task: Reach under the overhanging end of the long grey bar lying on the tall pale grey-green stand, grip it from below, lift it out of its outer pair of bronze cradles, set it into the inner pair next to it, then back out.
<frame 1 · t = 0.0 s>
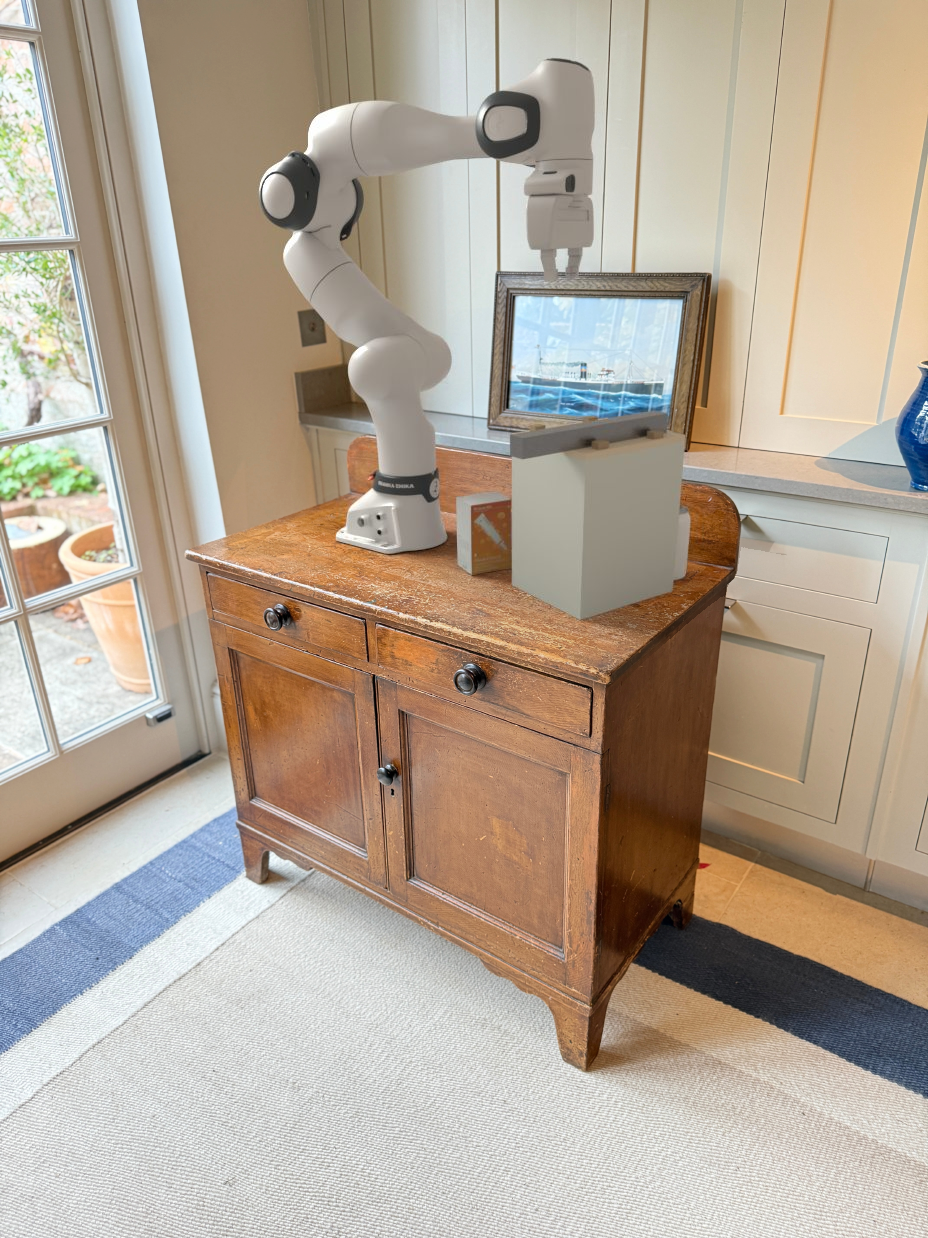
hand: (561, 279, 136), 48 cm above the table, tool pointing down, fingers open, 8 cm apart
small box: (484, 568, 153), on the table
stand: (591, 588, 143), on the table
can: (666, 576, 147), on the table
long grey bar: (591, 443, 126), point 26 cm above the table, touching stand
toy chair: (535, 551, 161), on the table
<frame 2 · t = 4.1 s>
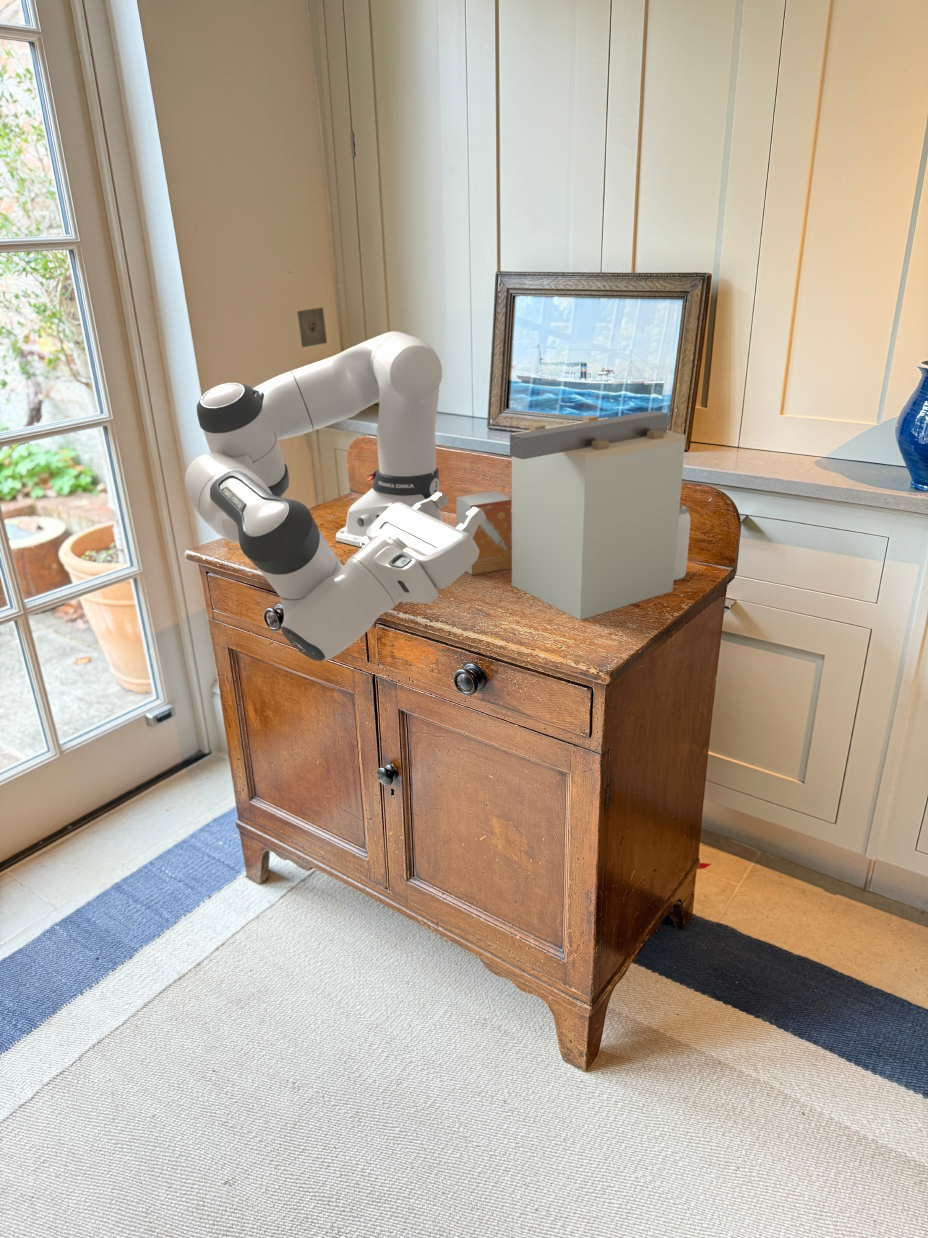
hand: (462, 503, 117), 21 cm above the table, tool pointing upward, fingers open, 8 cm apart
nothing on the table moved.
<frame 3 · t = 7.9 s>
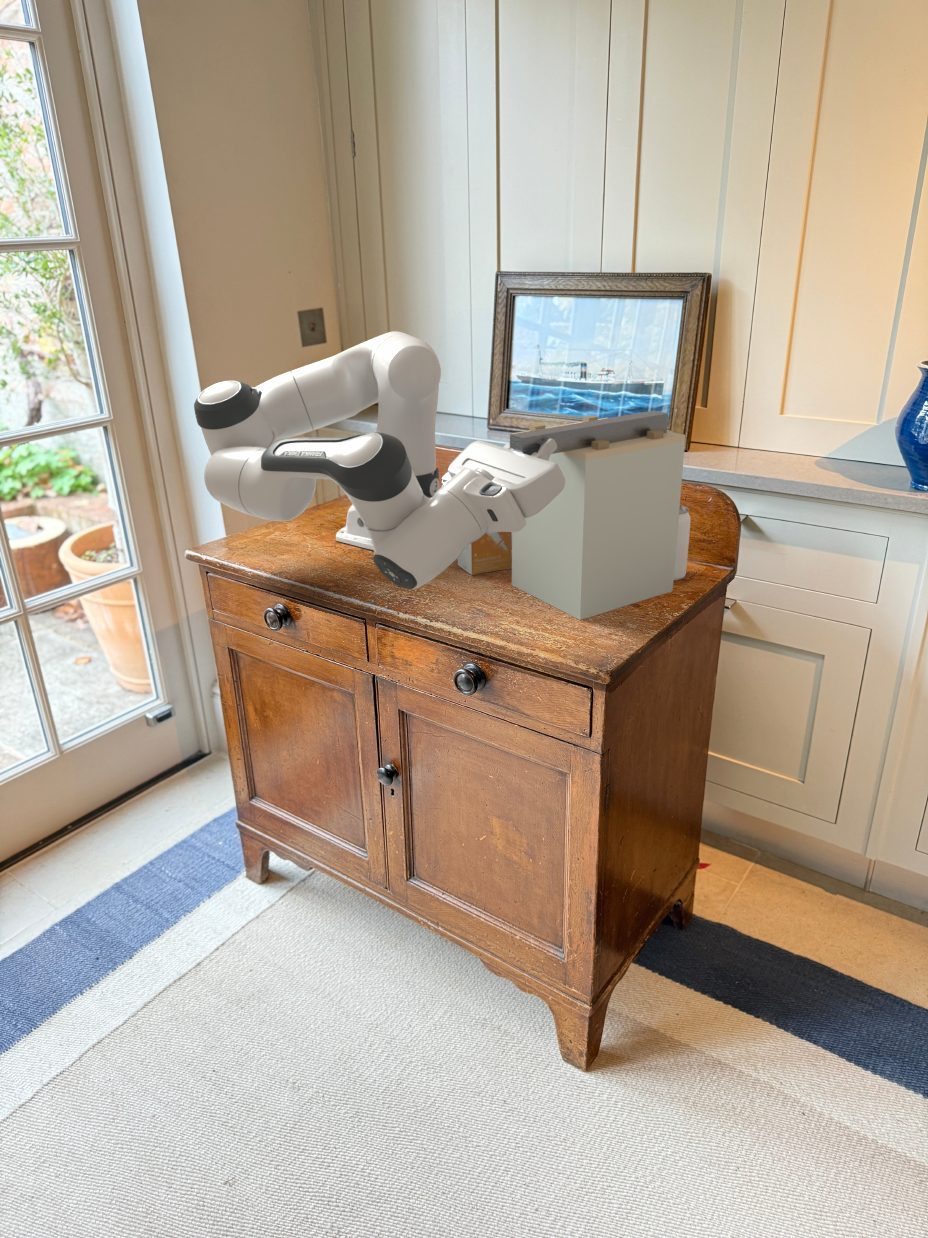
hand: (543, 439, 121), 28 cm above the table, tool pointing upward, fingers closed on long grey bar, 3 cm apart
long grey bar: (591, 443, 126), point 26 cm above the table, touching gripper, stand
everything else where it was.
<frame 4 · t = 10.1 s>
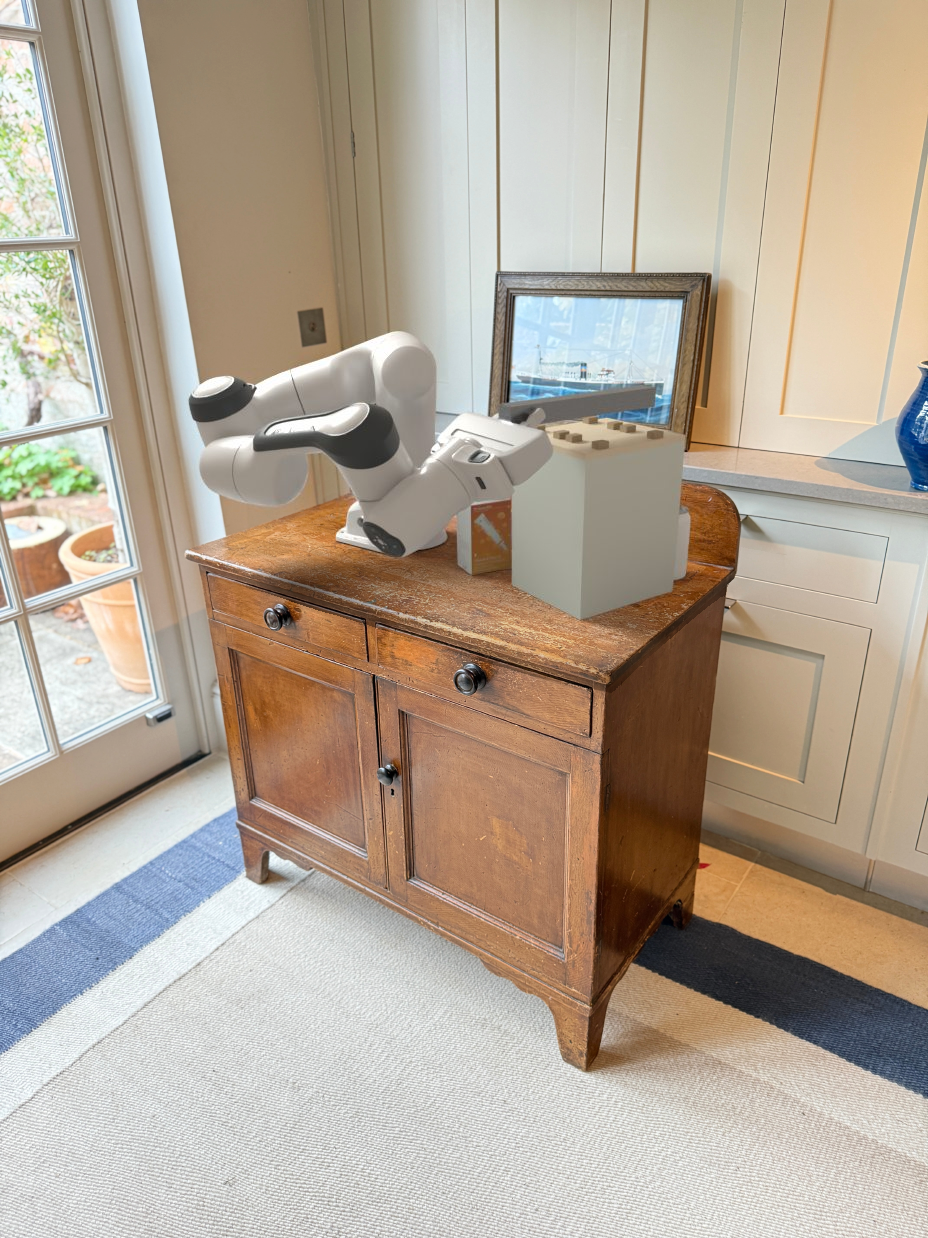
hand: (531, 409, 122), 32 cm above the table, tool pointing upward, fingers closed on long grey bar, 3 cm apart
long grey bar: (580, 415, 127), point 30 cm above the table, touching gripper
everything else where it was.
when the fingers open (29 cm above the table, at t = 12.7 s): long grey bar stays where it is, resting on stand.
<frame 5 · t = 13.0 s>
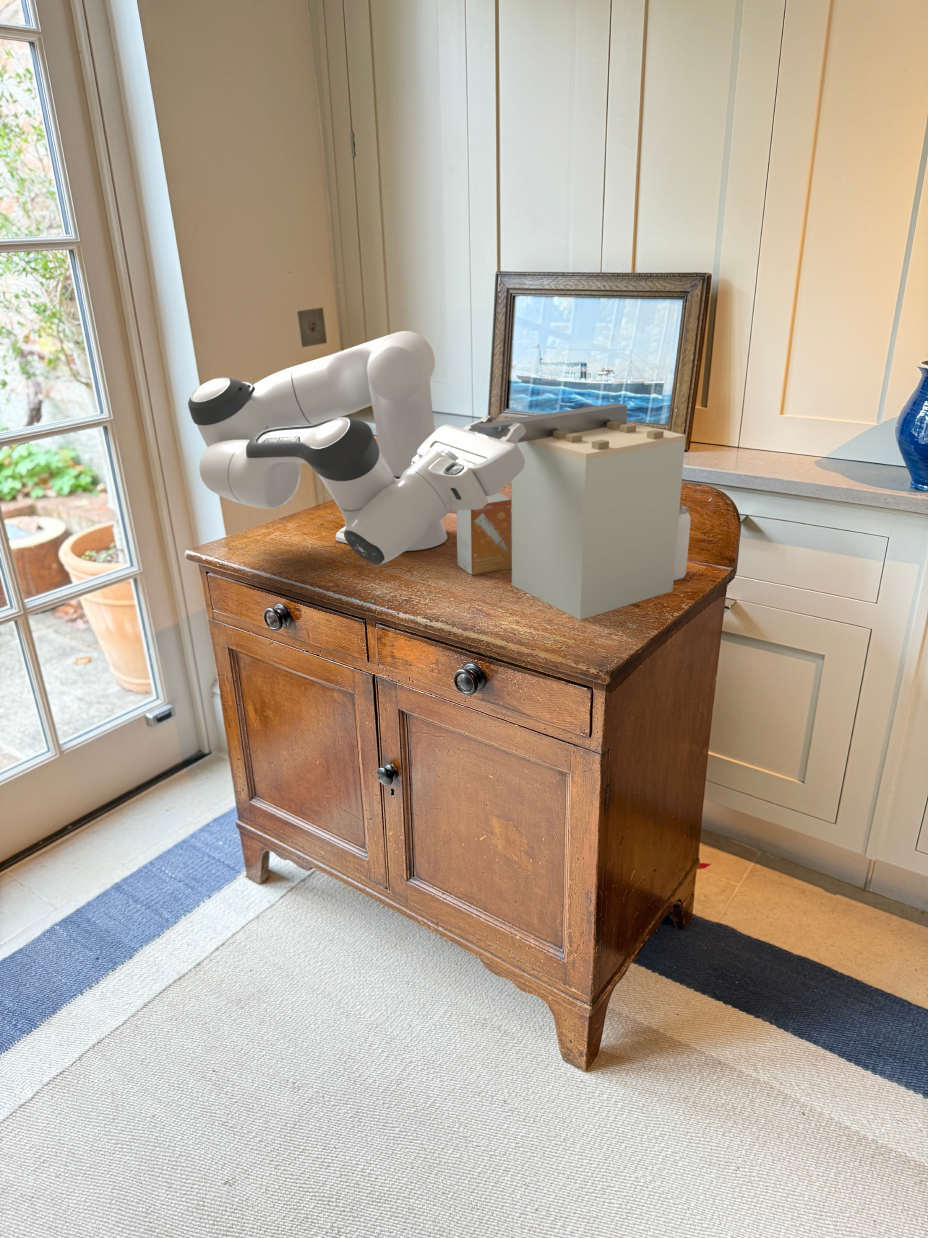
hand: (506, 422, 127), 29 cm above the table, tool pointing upward, fingers open, 6 cm apart
long grey bar: (553, 433, 133), point 26 cm above the table, touching stand
everything else where it was.
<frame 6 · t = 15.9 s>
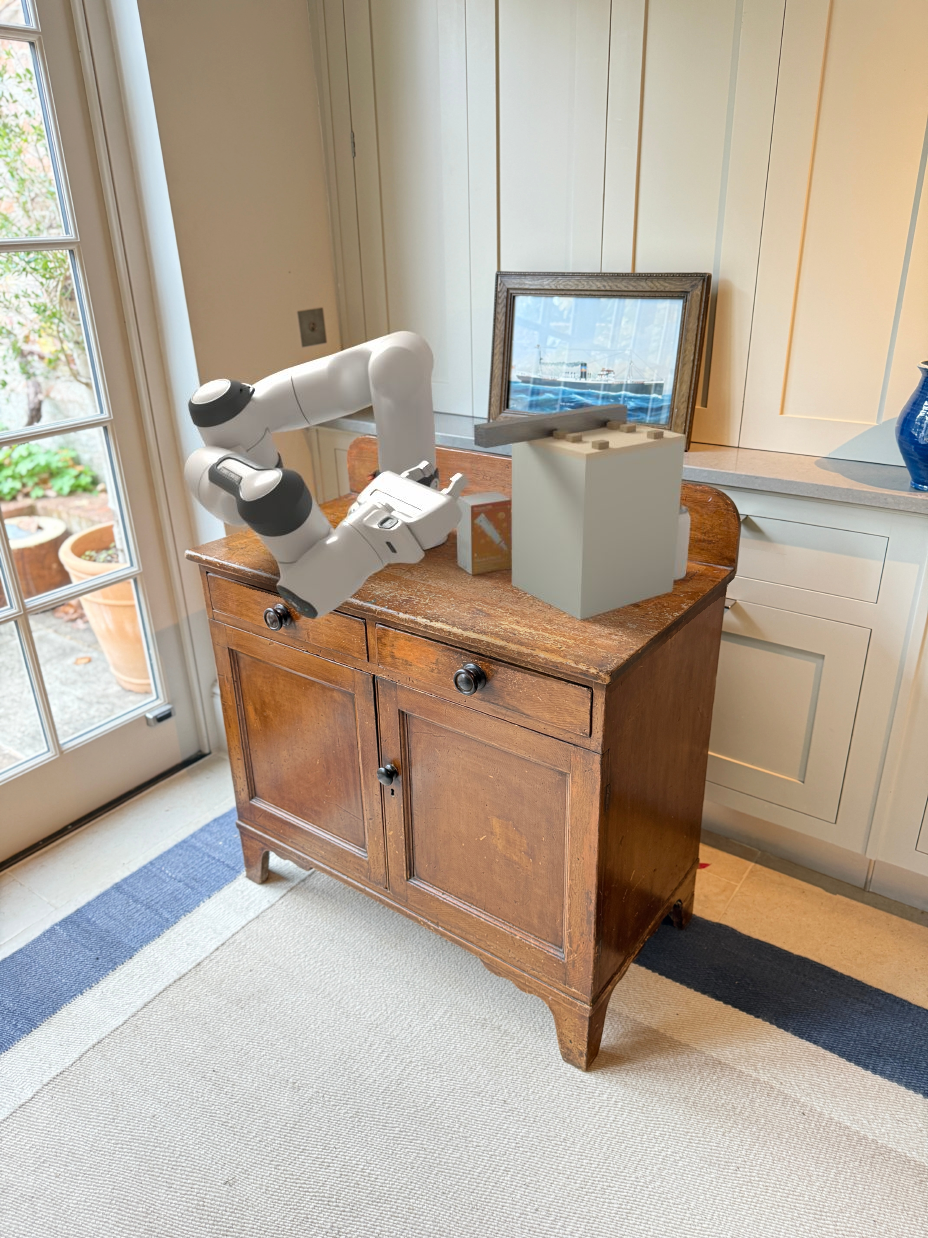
hand: (447, 470, 124), 23 cm above the table, tool pointing upward, fingers open, 8 cm apart
nothing on the table moved.
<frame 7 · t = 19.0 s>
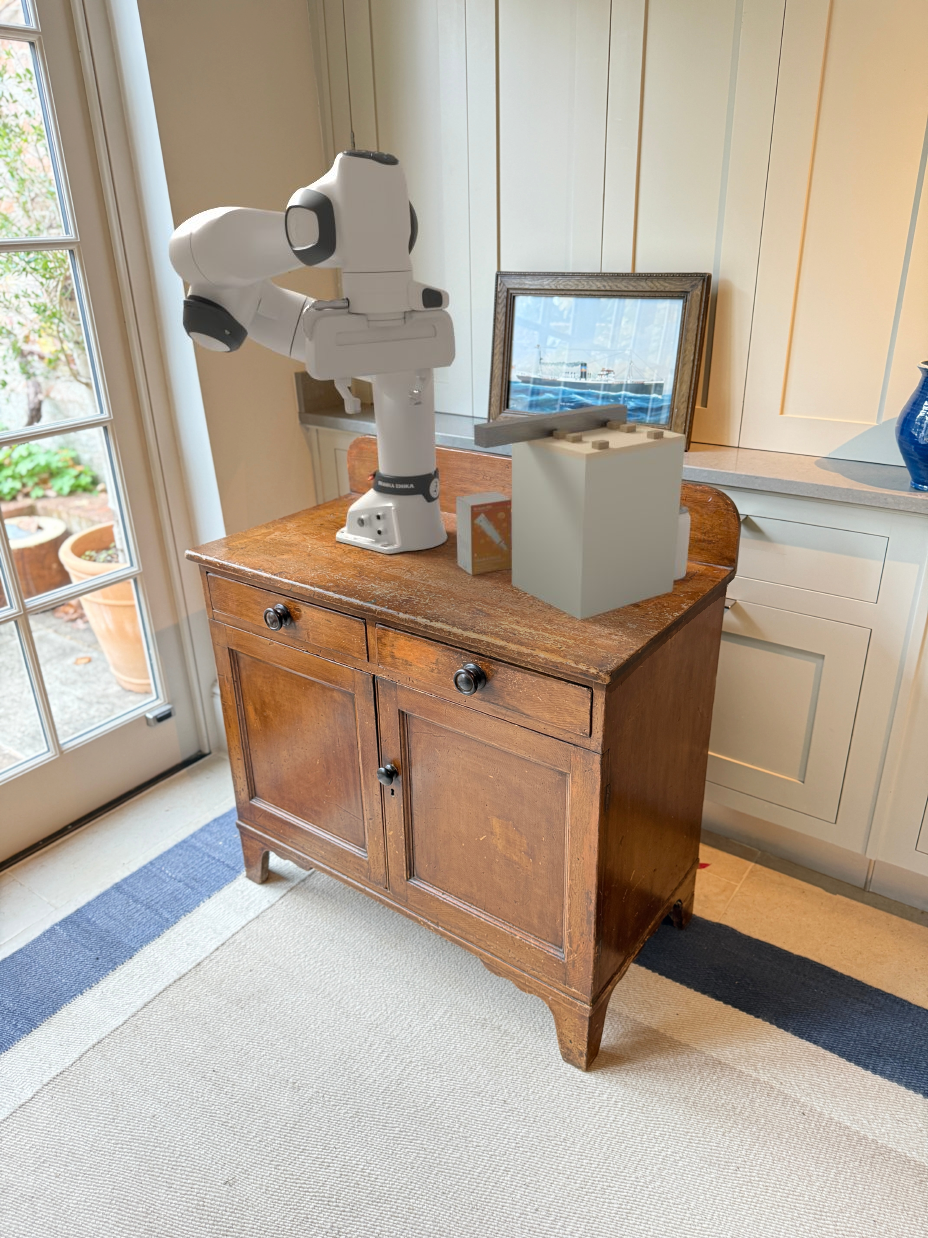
hand: (385, 408, 111), 34 cm above the table, tool pointing down, fingers open, 8 cm apart
nothing on the table moved.
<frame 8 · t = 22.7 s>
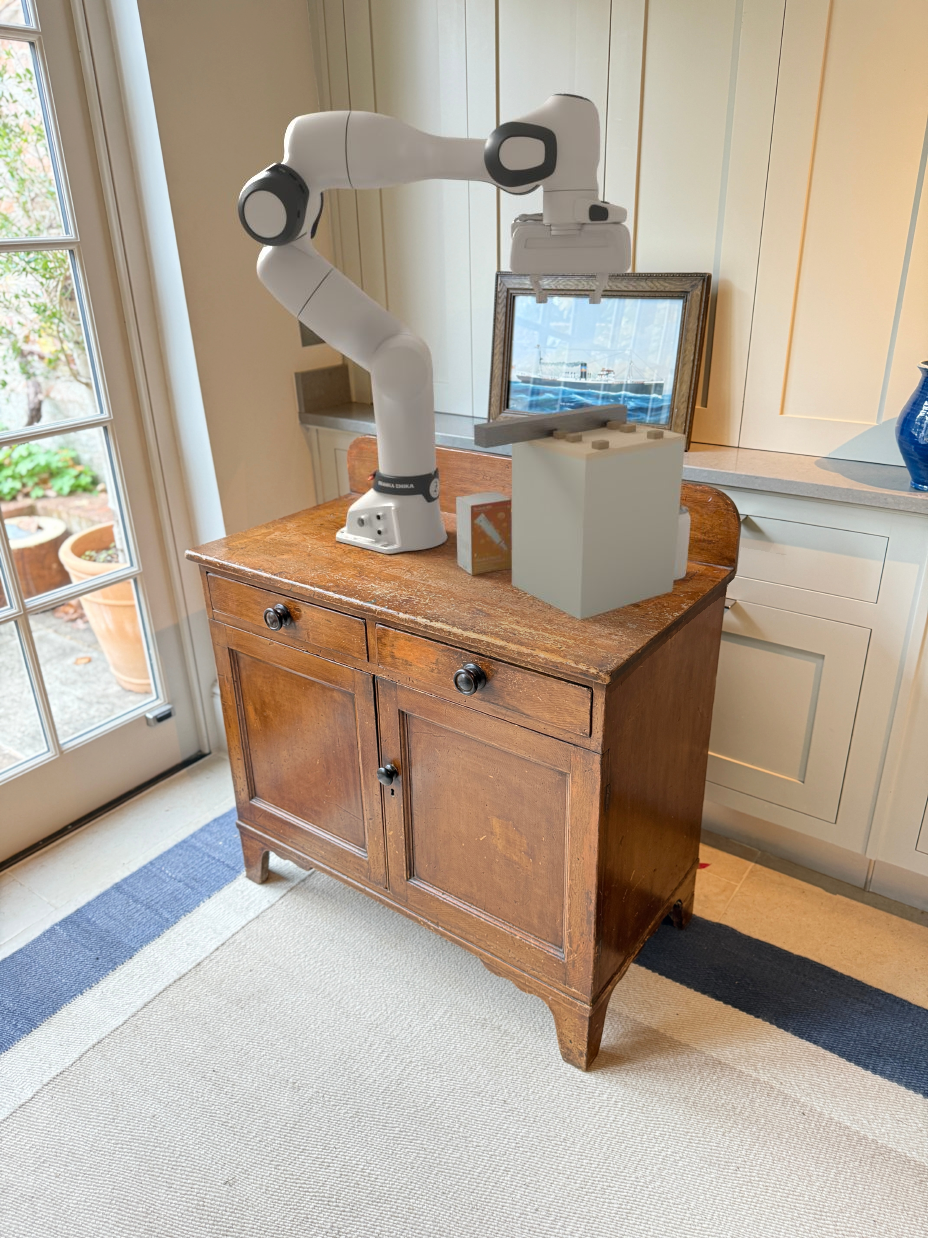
hand: (567, 303, 141), 44 cm above the table, tool pointing down, fingers open, 8 cm apart
nothing on the table moved.
at the end: long grey bar 0.2 cm from the target spot on the stand, point 26.0 cm above the stand's base; long grey bar tilted 0°; the gripper is holding nothing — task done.
